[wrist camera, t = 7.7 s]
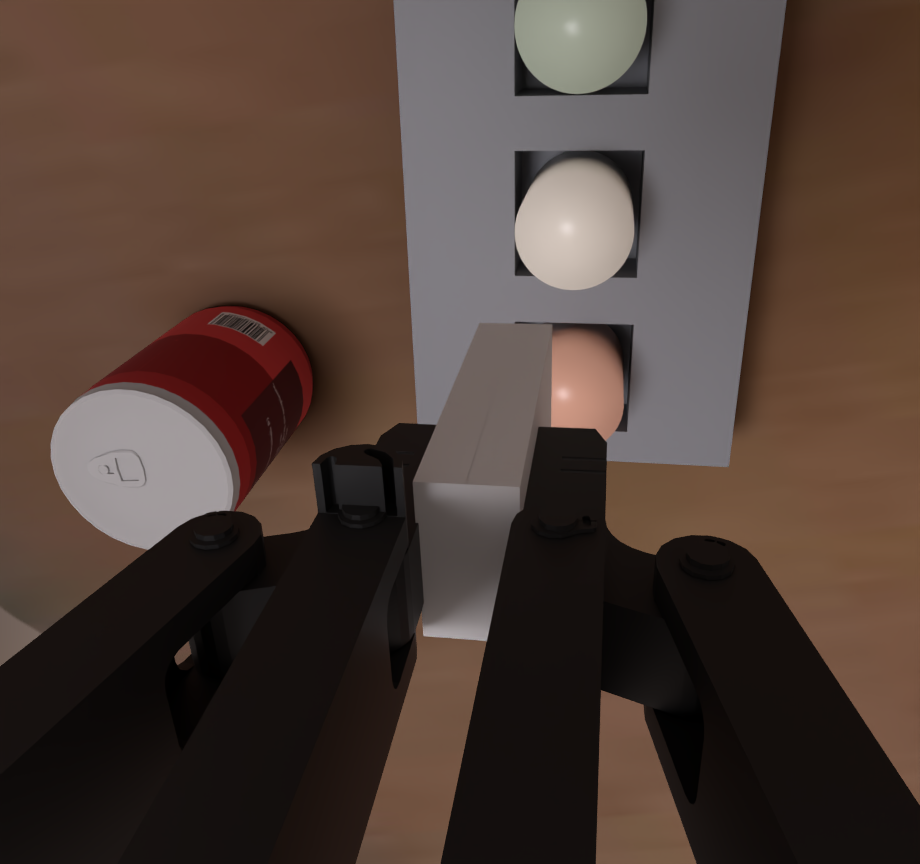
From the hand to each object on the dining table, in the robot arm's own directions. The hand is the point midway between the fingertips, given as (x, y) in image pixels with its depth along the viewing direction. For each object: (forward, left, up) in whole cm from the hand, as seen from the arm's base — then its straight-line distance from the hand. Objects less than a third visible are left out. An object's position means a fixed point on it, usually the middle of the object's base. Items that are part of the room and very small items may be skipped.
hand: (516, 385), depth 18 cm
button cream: (+1, +1, -21) cm, 21 cm away
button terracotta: (+8, +1, -21) cm, 22 cm away
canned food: (+10, -16, -23) cm, 30 cm away
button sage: (-6, +1, -21) cm, 22 cm away
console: (+1, +1, -22) cm, 22 cm away
